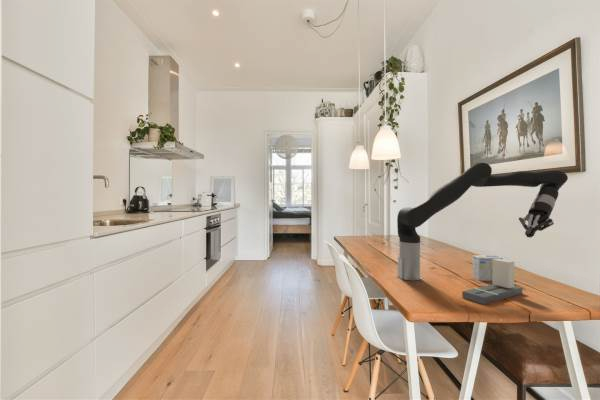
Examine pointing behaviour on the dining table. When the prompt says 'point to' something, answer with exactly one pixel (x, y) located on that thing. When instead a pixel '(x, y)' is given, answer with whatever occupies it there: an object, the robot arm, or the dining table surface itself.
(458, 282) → the dining table surface
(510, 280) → the cap
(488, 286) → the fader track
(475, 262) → the light bulb box
